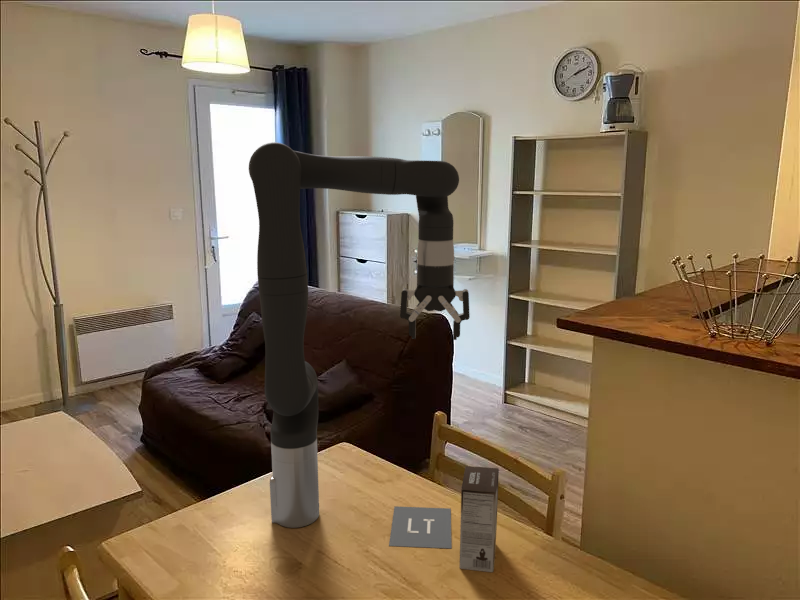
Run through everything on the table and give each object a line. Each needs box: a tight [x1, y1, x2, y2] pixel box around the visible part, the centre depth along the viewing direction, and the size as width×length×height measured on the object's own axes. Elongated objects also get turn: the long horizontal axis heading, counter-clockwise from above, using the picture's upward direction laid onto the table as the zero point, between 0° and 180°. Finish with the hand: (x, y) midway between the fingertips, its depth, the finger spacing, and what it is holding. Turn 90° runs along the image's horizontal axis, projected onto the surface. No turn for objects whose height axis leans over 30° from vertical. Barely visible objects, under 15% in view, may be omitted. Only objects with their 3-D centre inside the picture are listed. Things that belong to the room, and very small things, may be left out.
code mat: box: [388, 505, 453, 550], centre depth 124 cm, size 12×14×1 cm
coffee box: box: [459, 465, 500, 573], centre depth 113 cm, size 9×6×16 cm
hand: (434, 338), depth 128 cm, fingers open, 8 cm apart
